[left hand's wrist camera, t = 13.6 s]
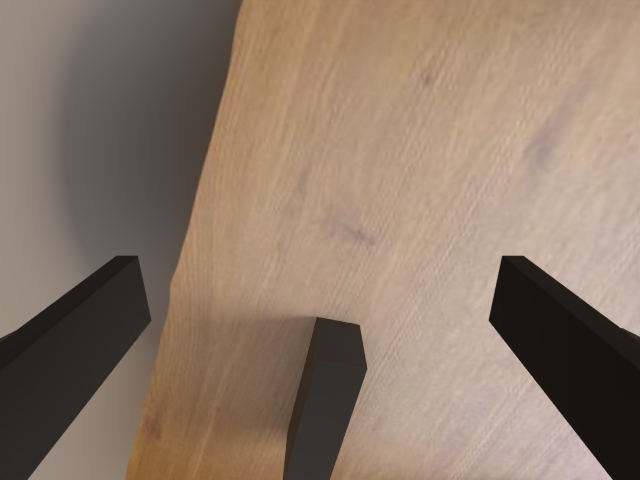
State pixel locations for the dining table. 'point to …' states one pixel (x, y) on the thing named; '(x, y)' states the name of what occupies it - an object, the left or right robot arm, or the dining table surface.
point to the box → (324, 400)
